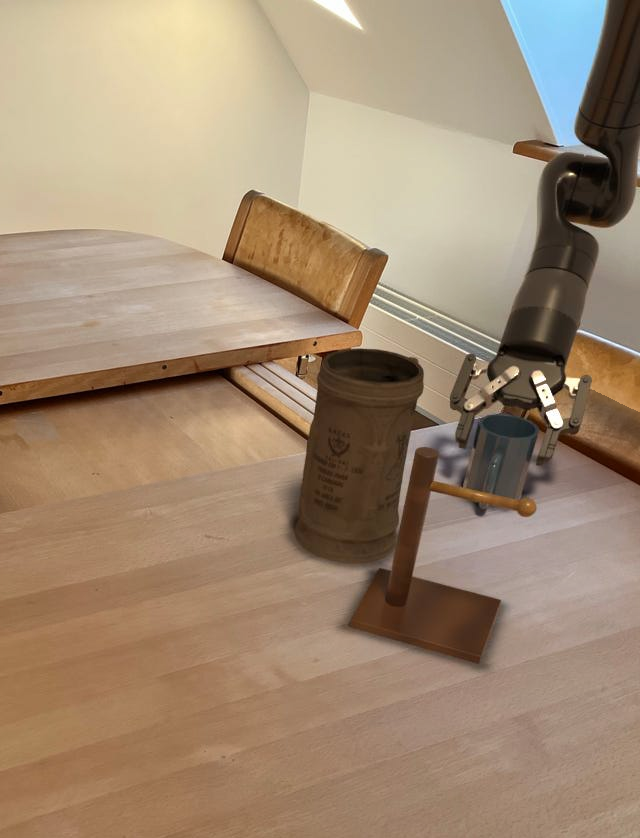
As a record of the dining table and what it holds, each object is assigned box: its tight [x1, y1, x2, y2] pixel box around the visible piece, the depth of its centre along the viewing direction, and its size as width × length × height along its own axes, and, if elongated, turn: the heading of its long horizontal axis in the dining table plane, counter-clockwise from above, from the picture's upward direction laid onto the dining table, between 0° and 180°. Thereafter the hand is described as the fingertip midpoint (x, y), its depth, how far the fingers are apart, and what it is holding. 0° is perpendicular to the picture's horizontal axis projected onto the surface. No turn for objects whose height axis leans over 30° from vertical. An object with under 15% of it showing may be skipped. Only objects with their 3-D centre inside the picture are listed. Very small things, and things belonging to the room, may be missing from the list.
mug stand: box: [348, 446, 537, 665], centre depth 87 cm, size 13×10×17 cm
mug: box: [462, 413, 540, 510], centre depth 108 cm, size 10×6×9 cm, turn 154°
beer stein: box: [293, 347, 425, 565], centre depth 99 cm, size 15×11×20 cm
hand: (500, 454), depth 108 cm, fingers open, 8 cm apart
